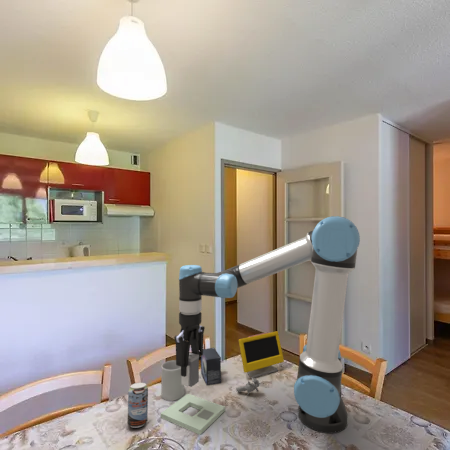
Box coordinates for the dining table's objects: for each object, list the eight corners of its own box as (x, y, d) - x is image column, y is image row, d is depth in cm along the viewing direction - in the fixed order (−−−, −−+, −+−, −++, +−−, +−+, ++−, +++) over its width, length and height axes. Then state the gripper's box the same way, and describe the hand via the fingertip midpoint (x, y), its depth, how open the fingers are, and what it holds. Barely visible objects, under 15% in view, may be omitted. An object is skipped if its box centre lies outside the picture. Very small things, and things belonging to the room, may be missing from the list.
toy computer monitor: (245, 381, 122) (245, 341, 122) (235, 373, 129) (235, 335, 129) (284, 369, 132) (284, 333, 132) (273, 362, 139) (272, 328, 139)
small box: (200, 373, 129) (199, 348, 129) (214, 371, 131) (214, 347, 131) (205, 385, 119) (205, 359, 119) (221, 383, 121) (221, 356, 121)
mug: (184, 400, 109) (184, 369, 109) (160, 401, 108) (160, 370, 108) (185, 383, 121) (184, 355, 121) (163, 384, 120) (163, 356, 120)
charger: (198, 381, 102) (198, 354, 102) (191, 387, 98) (191, 358, 99) (189, 378, 104) (189, 352, 104) (181, 383, 101) (181, 356, 101)
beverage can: (127, 433, 91) (126, 393, 92) (128, 418, 99) (127, 381, 99) (148, 429, 93) (148, 389, 93) (147, 415, 100) (147, 378, 100)
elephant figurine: (241, 385, 119) (262, 380, 117) (243, 402, 115) (265, 397, 112) (230, 378, 112) (253, 372, 110) (232, 395, 108) (255, 389, 106)
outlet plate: (225, 410, 102) (225, 406, 102) (200, 434, 90) (200, 429, 90) (187, 397, 111) (187, 393, 111) (160, 417, 99) (160, 413, 99)
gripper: (196, 304, 111) (196, 369, 111) (164, 316, 96) (163, 390, 96) (213, 307, 107) (213, 374, 107) (182, 320, 92) (182, 397, 92)
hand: (189, 381), depth 101 cm, fingers closed on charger, 4 cm apart
